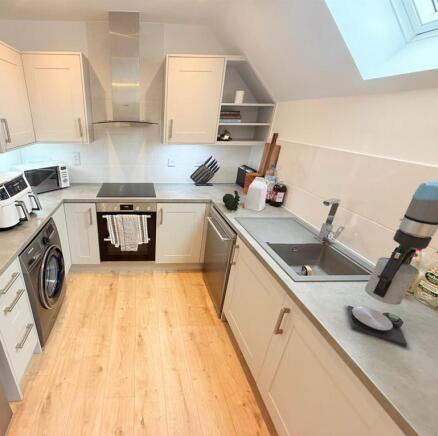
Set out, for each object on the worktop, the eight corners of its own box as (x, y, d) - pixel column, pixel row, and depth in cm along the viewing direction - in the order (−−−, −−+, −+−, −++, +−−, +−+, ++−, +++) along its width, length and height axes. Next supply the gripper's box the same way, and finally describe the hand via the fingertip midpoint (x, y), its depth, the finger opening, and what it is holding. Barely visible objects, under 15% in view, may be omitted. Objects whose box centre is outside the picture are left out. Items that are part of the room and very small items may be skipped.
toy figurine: (240, 215, 187) (229, 202, 209) (245, 193, 178) (233, 181, 199) (228, 215, 186) (218, 202, 208) (232, 193, 177) (222, 182, 199)
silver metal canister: (408, 307, 77) (426, 277, 72) (372, 300, 79) (387, 270, 75) (391, 289, 85) (406, 260, 80) (359, 283, 88) (372, 255, 83)
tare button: (396, 318, 87) (397, 315, 86) (398, 322, 85) (399, 320, 84) (386, 315, 88) (388, 312, 87) (388, 319, 86) (390, 317, 85)
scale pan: (387, 314, 88) (387, 313, 88) (396, 335, 79) (397, 334, 79) (350, 303, 93) (350, 302, 93) (355, 322, 84) (355, 321, 84)
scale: (397, 322, 88) (400, 316, 87) (409, 348, 78) (413, 342, 77) (347, 306, 95) (349, 301, 94) (352, 329, 85) (355, 323, 84)
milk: (244, 207, 198) (249, 177, 188) (250, 204, 205) (255, 175, 195) (258, 211, 190) (264, 180, 179) (264, 208, 197) (270, 177, 187)
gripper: (411, 221, 80) (384, 274, 89) (383, 235, 70) (356, 294, 79) (444, 229, 74) (411, 286, 83) (418, 246, 64) (385, 308, 73)
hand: (384, 290), depth 81 cm, fingers closed on silver metal canister, 9 cm apart
